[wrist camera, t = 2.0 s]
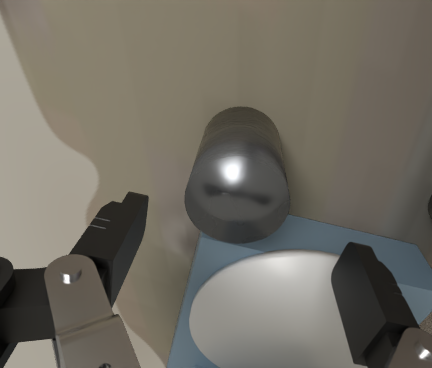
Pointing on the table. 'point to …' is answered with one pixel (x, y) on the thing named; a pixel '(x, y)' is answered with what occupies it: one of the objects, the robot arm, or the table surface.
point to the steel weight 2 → (430, 206)
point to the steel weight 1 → (238, 178)
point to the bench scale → (281, 298)
